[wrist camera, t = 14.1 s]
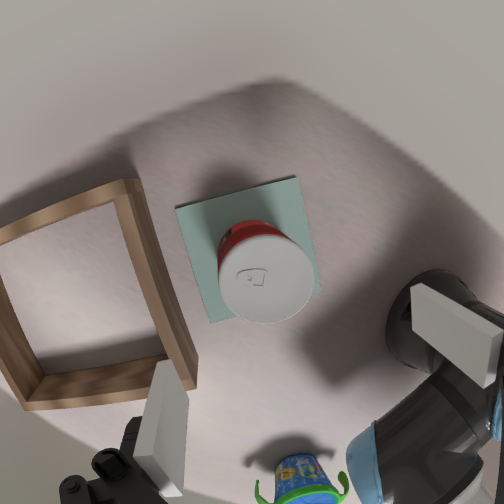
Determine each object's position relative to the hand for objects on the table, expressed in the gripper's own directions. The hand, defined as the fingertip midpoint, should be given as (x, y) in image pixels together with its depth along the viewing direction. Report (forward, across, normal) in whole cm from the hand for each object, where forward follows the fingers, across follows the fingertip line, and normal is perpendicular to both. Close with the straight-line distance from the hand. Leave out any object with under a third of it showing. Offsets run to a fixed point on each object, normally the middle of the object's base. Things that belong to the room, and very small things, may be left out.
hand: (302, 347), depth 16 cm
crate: (+22, +23, 0) cm, 32 cm away
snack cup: (+22, +2, +39) cm, 45 cm away
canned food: (+22, 0, 0) cm, 22 cm away
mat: (+22, 0, 0) cm, 22 cm away
